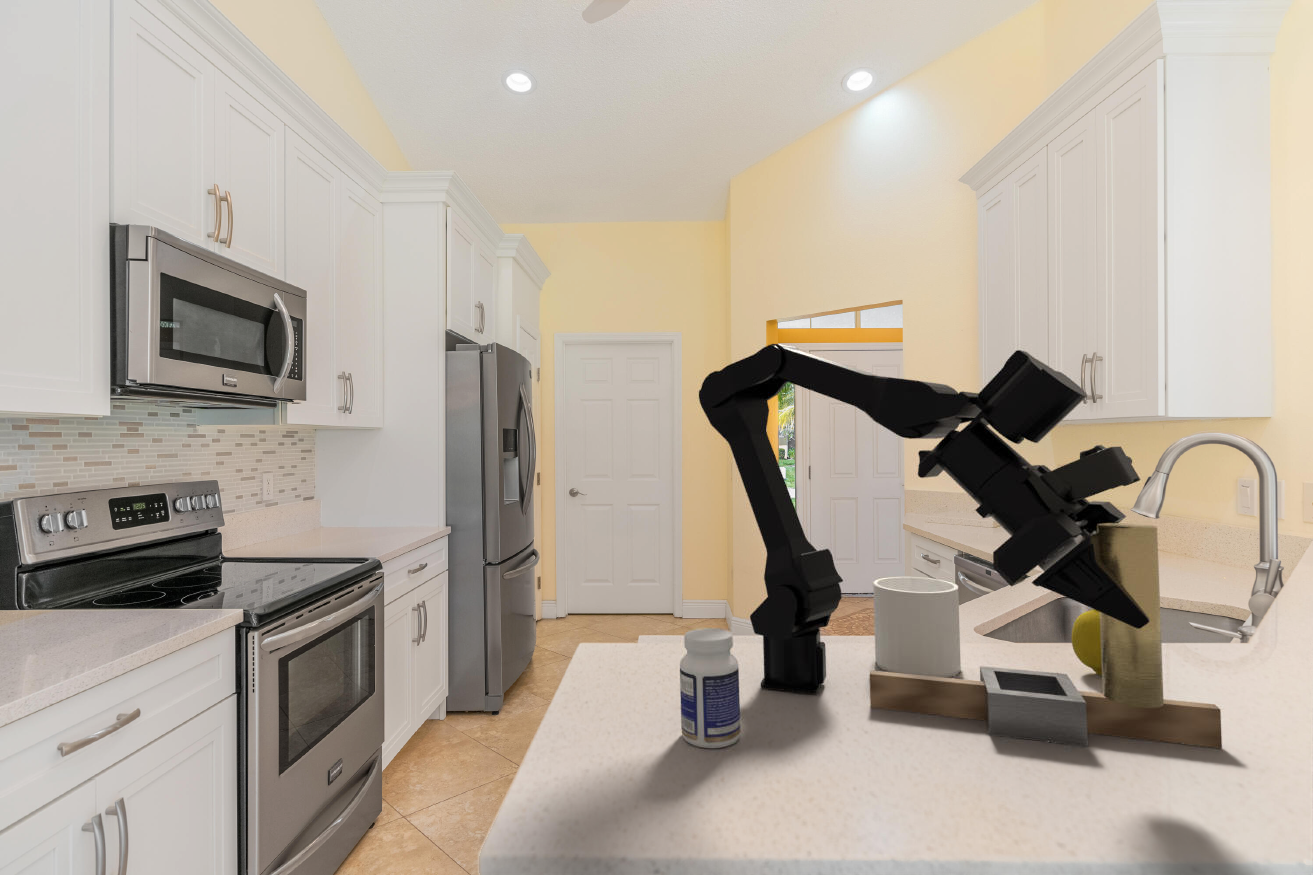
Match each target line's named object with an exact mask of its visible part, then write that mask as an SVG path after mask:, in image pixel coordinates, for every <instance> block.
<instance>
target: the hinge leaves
mask: <svg viewBox="0 0 1313 875" xmlns="http://www.w3.org/2000/svg"><path fill="white" fill-rule="evenodd" d="M1078 691H1079V693H1080V694H1081V696H1082V697H1083V699H1084V700H1085V702H1086V714H1087V734H1088V733H1089V734H1095V735H1096V734H1097V735H1104V736H1113V737H1119V738H1128V739H1136V740H1137V739H1138V740H1144V741H1145V740H1146V741H1156V742H1162V743H1171V744H1179V743H1181V744H1180V745H1187V744H1191V745H1190V746H1195V745H1200V746H1199V747H1204V746H1206V748H1212V747H1214V748H1213V749H1221V748H1222V749H1223V743H1222V742H1223V741H1222V740H1223V739H1222V738H1223V737H1222V713H1221V708H1220V707H1219V706H1217V705H1216V704H1213V703H1205V702H1195V701H1194V702H1193V701H1184V700H1174V699H1166V698H1165V699H1164V698H1163V699H1164V705H1163V706H1161V707H1157V708H1141V707H1134V706H1128V705H1124V704H1120V703H1117V702H1114V701H1112V700H1110V699H1108V698H1106V697H1105V696H1104V695H1103V692H1092V691H1083V690H1078ZM869 700H870V701H869V702H870V708H876V709H884V710H894V711H900V712H901V711H902V712H909V713H910V712H911V713H919V714H927V715H928V714H929V715H935V716H936V715H937V716H943V717H945V716H946V717H951V718H962V719H970V720H977V721H985V722H986V717H985V685H984V682H983V681H980V680H973V679H971V680H970V679H961V678H953V677H950V678H943V677H933V676H923V675H913V674H903V673H892V672H887V671H882V670H880V671H879V670H869ZM1183 743H1184V744H1183ZM1207 746H1208V747H1207Z"/></svg>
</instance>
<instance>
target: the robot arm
mask: <svg viewBox="0 0 1313 875" xmlns="http://www.w3.org/2000/svg"><path fill="white" fill-rule="evenodd" d="M788 383H789V384H793V385H796V386H798V387H800V388H803V389H807V390H809V391H812V392H815V393H818V394H820V395H823V396H826V397H828V398H832V399H835V400H837V401H839V402H842V403H845V404H847V405H851V406H852V407H855V408H857V409H859V410H861V411H862V412H864V413H865V414H866V415H867V416H868V417H869V418H870V419H871V420H872V421H873V422H875V423H877V424H878V425H880V426H882V427H883V428H885V429H887V430H889V431H890V432H892V433H893V434H894V435H895V434H896V435H897V436H899V437H900V438H904V439H909V440H912V439H913V440H919V439H921V440H923V439H925V440H926V439H927V440H928V439H929V440H930V439H931V440H937V439H941V440H940V441H939V442H938V443H937V445H935V446H934V447H933V449H931V450H930V449H929V450H928V449H926V450H923V449H922V450H919V451H918V454H917V455H918V458H919V462H918V469H917V475H918V477H919V478H922V479H924V478H926V479H927V478H932V477H933V478H936V477H938V476H939V475H940V474H941V473H942V472H945V473H946V474H947V475H948V476H949V477H950V478H951V479H952V480H953V481H954V482H955V483H956V484H958V485H959V487H960V488H961V489H962V490H964V491H965V493H966V494H968V495H969V497H971V499H973V500H974V501H975V502H976V504H978V505H979V506H978V507H977V508H976V509H975V512H976V513H977V514H978V515H979V516H980V517H981V518H982V519H987V518H992V519H993V520H994V521H995V522H997V524H999V525H1000V527H1002V529H1003V530H1004V531H1006V532H1007V534H1009V536H1010V537H1009V538H1008V539H1006V540H1005V541H1004V542H1003V543H1002V544H1001V545H999V547H997V548H996V549H995V550H994V551H993V552H992V558H993V559H992V561H993V563H992V564H993V569H994V570H995V571H996V573H997V574H999V576H1000V577H1001V578H1002V579H1004V581H1005V582H1006V583H1007V584H1008V585H1009V586H1010V587H1011V588H1012V587H1014V586H1016V585H1018V584H1020V583H1022V582H1024V581H1025V580H1026V579H1028V576H1027V575H1028V574H1029V573H1030V572H1031V571H1033V570H1034V569H1035V568H1036V567H1039V568H1040V569H1041V570H1042V571H1043V572H1042V573H1041V574H1040V575H1038V576H1037V577H1036V578H1035V579H1034V580H1033V581H1031V584H1032V585H1033V586H1035V587H1041V588H1043V589H1047V590H1049V591H1051V592H1053V593H1056V594H1058V595H1061V596H1063V597H1065V598H1068V599H1070V600H1073V601H1075V602H1077V603H1079V604H1082V605H1084V606H1086V607H1089V608H1091V609H1092V610H1093V609H1095V610H1097V611H1099V612H1102V613H1104V614H1106V615H1108V616H1110V617H1113V618H1115V619H1117V620H1119V621H1121V622H1124V623H1126V624H1128V625H1130V626H1132V627H1135V628H1137V629H1140V628H1142V627H1143V626H1145V625H1146V624H1148V623H1149V621H1150V620H1149V618H1148V616H1147V615H1146V614H1145V613H1144V611H1143V610H1142V609H1141V608H1140V606H1139V605H1138V604H1137V603H1136V601H1135V600H1134V599H1133V598H1132V597H1131V595H1130V594H1129V593H1128V592H1127V591H1126V589H1125V588H1124V587H1123V586H1122V585H1121V584H1120V582H1119V581H1118V580H1117V579H1116V578H1115V576H1114V575H1113V574H1112V573H1111V572H1110V570H1109V569H1108V568H1107V567H1106V566H1105V565H1104V563H1103V562H1102V560H1101V557H1100V541H1099V534H1098V533H1097V524H1105V523H1121V521H1123V520H1124V519H1125V518H1126V517H1127V515H1125V514H1124V513H1123V512H1122V511H1121V510H1120V509H1118V508H1117V507H1116V506H1115V505H1114V504H1113V503H1111V502H1110V501H1100V500H1099V501H1098V500H1097V501H1096V500H1094V501H1089V500H1088V499H1087V498H1090V497H1093V496H1095V495H1098V494H1100V493H1104V492H1106V491H1108V490H1113V489H1116V488H1119V487H1121V486H1122V487H1126V486H1129V485H1132V484H1135V483H1137V482H1139V481H1141V478H1140V476H1139V475H1138V473H1137V472H1136V470H1135V468H1134V466H1133V465H1132V464H1133V459H1132V458H1131V457H1130V456H1127V455H1126V452H1125V451H1124V450H1123V448H1122V446H1109V447H1105V446H1104V445H1102V444H1098V445H1097V444H1096V445H1094V446H1093V448H1090V449H1086V450H1082V451H1080V452H1079V458H1078V459H1076V460H1074V461H1071V462H1069V463H1067V464H1063V465H1062V466H1060V467H1057V468H1054V469H1053V470H1051V469H1050V468H1049V467H1048V466H1046V465H1044V464H1041V465H1040V464H1035V465H1033V464H1031V463H1030V462H1029V461H1028V460H1026V459H1025V457H1023V456H1022V455H1021V454H1020V453H1019V452H1017V451H1016V450H1015V449H1014V448H1013V447H1011V445H1009V443H1007V442H1006V441H1005V440H1003V438H1004V439H1006V440H1008V441H1009V442H1011V443H1014V444H1016V445H1020V444H1021V443H1022V442H1023V441H1024V440H1027V441H1029V442H1031V443H1034V444H1039V442H1040V441H1041V440H1043V439H1044V438H1045V437H1046V436H1047V435H1048V434H1049V433H1050V432H1051V431H1052V430H1053V429H1054V428H1056V426H1058V425H1059V423H1060V422H1062V421H1063V420H1064V419H1065V418H1066V417H1067V416H1068V415H1069V414H1070V413H1071V412H1072V411H1073V410H1075V408H1076V407H1077V406H1079V405H1080V404H1081V402H1083V400H1086V398H1087V397H1088V394H1087V393H1086V391H1085V390H1084V389H1083V388H1081V387H1080V386H1079V385H1078V384H1077V383H1076V382H1075V381H1073V380H1072V379H1071V378H1070V377H1068V376H1067V375H1066V374H1064V373H1063V372H1061V371H1059V370H1054V369H1053V368H1052V367H1051V366H1049V365H1047V364H1046V363H1044V362H1042V360H1039V359H1037V358H1035V357H1034V356H1033V355H1031V354H1030V353H1029V352H1027V351H1024V350H1021V349H1017V350H1015V351H1014V352H1013V353H1012V354H1011V356H1010V357H1009V358H1008V359H1007V360H1006V361H1005V363H1004V365H1003V367H1002V368H1001V369H1000V370H999V371H998V373H997V374H996V375H995V376H994V377H993V378H991V380H989V382H988V383H987V384H986V385H985V386H984V387H983V388H982V389H981V390H980V391H979V392H970V391H959V392H958V391H957V390H956V389H954V388H953V387H951V386H950V385H947V384H943V383H937V382H930V381H924V380H923V381H922V380H914V379H908V378H907V379H906V378H899V377H898V378H897V377H889V376H888V377H887V376H881V375H877V374H874V373H871V372H868V371H865V370H862V369H858V368H856V367H852V366H849V365H845V364H843V363H840V362H836V361H834V360H830V359H827V358H824V357H820V356H817V355H814V354H811V353H809V352H805V351H802V350H800V349H799V348H797V347H796V346H791V345H785V344H780V343H771V344H768V345H765V346H764V347H762V348H761V349H759V350H758V351H757V352H755V353H754V354H752V355H749V356H747V357H744V358H742V359H739V360H737V361H735V362H732V363H730V364H728V365H726V366H725V367H723V368H722V369H721V370H714V371H712V372H710V373H709V374H708V375H707V376H705V378H704V380H703V382H702V384H701V387H700V389H699V390H698V400H699V404H700V407H701V409H702V410H703V412H704V415H705V416H706V418H707V419H708V422H709V424H710V426H711V427H712V428H713V429H714V430H716V432H717V433H718V434H719V435H720V436H721V437H722V438H723V439H724V440H725V441H726V442H727V443H728V445H729V448H730V450H731V452H732V455H733V458H734V462H735V464H736V468H737V470H738V473H739V475H740V478H741V482H742V483H743V487H744V489H745V493H746V496H747V498H748V501H749V505H750V507H751V509H752V512H753V516H754V519H755V521H756V524H757V527H758V529H759V532H760V535H761V538H762V542H763V544H764V547H765V551H766V559H765V566H764V575H763V581H764V585H765V589H766V590H765V591H766V594H767V597H766V598H765V599H764V600H763V601H762V602H761V603H760V605H758V607H757V608H755V610H753V611H752V613H751V614H750V616H749V619H750V622H751V626H752V630H753V632H754V634H755V635H758V636H762V642H763V643H762V644H763V646H762V649H763V678H762V680H761V682H760V688H762V689H769V690H777V691H786V692H792V693H793V692H794V693H803V694H813V695H817V694H818V693H819V691H820V688H821V685H823V684H824V683H825V681H826V678H827V656H826V655H827V654H826V651H827V650H826V643H825V641H821V628H825V627H828V626H829V624H830V620H831V619H830V618H831V616H832V614H833V613H834V612H835V611H836V610H837V609H838V607H839V604H840V601H841V600H842V589H841V584H840V583H843V581H844V580H843V578H842V577H841V576H840V574H839V573H838V570H837V569H836V566H835V563H834V557H833V555H832V552H831V551H830V549H829V548H824V549H819V550H817V549H816V548H815V547H814V545H813V544H811V542H810V541H809V540H808V539H807V537H806V535H805V532H804V529H803V526H802V524H801V521H800V519H799V516H798V514H797V510H796V507H795V505H794V503H793V499H792V497H791V495H790V492H789V490H788V487H787V484H786V481H785V478H784V475H783V474H782V471H781V468H780V466H779V461H778V460H777V456H776V454H775V451H774V449H773V446H772V444H771V441H770V438H769V436H768V430H767V427H768V420H769V414H770V409H769V408H770V407H769V403H768V402H769V401H770V400H771V399H773V398H774V397H776V396H778V395H779V394H780V392H781V391H782V390H783V388H785V386H786V385H788ZM965 423H968V424H967V425H965V427H964V428H963V429H961V430H957V429H958V427H959V426H960V425H961V424H965ZM988 425H989V426H990V427H991V428H992V429H993V430H992V429H991V428H990V427H989V426H988ZM994 430H995V431H996V432H997V433H998V434H999V435H1001V436H1002V437H1003V438H1001V437H1000V436H999V435H998V434H997V433H996V432H995V431H994Z"/></svg>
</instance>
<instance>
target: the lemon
mask: <svg viewBox="0 0 1313 875" xmlns="http://www.w3.org/2000/svg"><path fill="white" fill-rule="evenodd" d="M1071 646H1072V649H1073V652H1074V654H1075V655H1076V656H1075V657H1077V659H1078V660H1079V661H1080V662H1081V663H1082V665H1084V666H1086V667H1088V668H1090V669H1091V670H1093V671H1094V672H1095V673H1096V675H1098V676H1102V657H1101V628H1100V612H1099V611H1097V610H1095V609H1093V608H1092V609H1091V610H1087V611H1085V612H1082V613H1080V614H1079V615H1078V617H1077V618H1076V619H1075V621H1074V623H1073V626H1072V630H1071Z"/></svg>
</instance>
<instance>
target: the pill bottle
mask: <svg viewBox="0 0 1313 875" xmlns="http://www.w3.org/2000/svg"><path fill="white" fill-rule="evenodd" d="M683 637H684V638H683V639H684V645H683V646H684V648H685V649H686V651H687V652H686V653H685V654H684V656H683V657H682V658H681V659H680V662H679V688H680V691H679V692H680V724H681V726H680V727H681V729H680V730H681V735H682V737H683V739H684V740H685V741H686V742H687V743H688V744H690V745H692V746H695V747H698V748H701V749H702V748H703V749H719V748H726V747H729V746H731V745H733V744H734V743H735V744H736V742H737V741H738V740H739V739H740V737H741V707H740V706H741V704H740V701H741V700H740V676H739V675H740V673H739V671H740V670H739V662H738V659H737V658H736V657H735V655H734V654H733V653H731V649H732V648H733V646H734V640H733V633H732V632H731V631H730V630H727V629H723V628H715V627H713V628H712V627H707V628H695V629H692V630H689V631H687V632H685V633H684V636H683Z"/></svg>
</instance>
